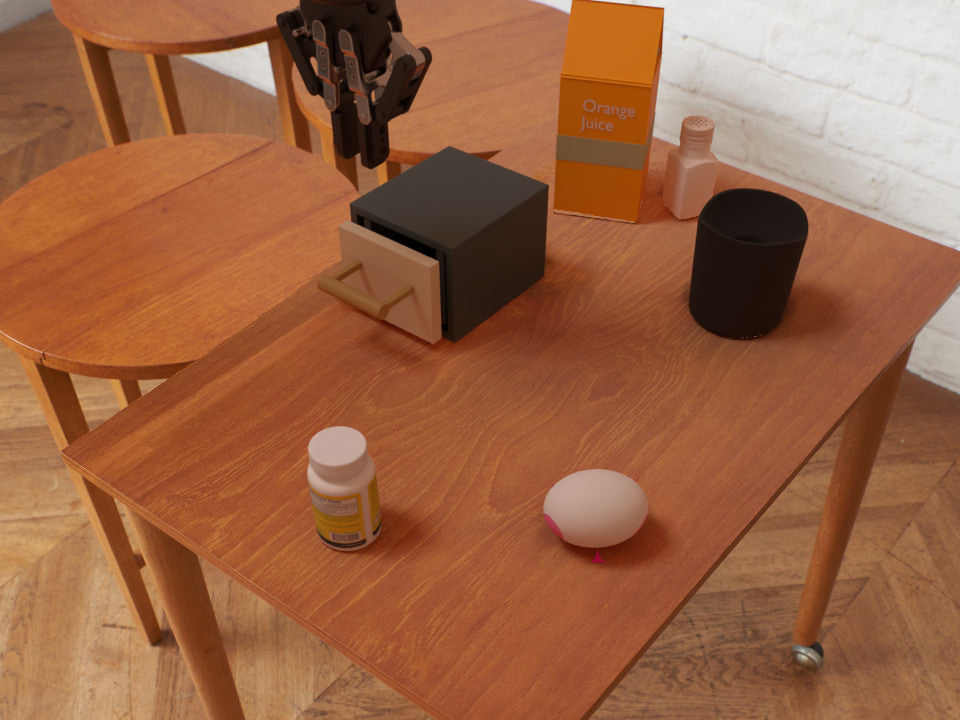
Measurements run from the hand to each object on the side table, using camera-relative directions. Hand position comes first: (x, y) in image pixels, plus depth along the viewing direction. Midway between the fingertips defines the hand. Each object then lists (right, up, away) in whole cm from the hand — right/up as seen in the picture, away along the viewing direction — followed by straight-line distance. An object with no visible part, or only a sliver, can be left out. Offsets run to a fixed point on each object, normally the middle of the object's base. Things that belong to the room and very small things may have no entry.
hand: (362, 158), depth 81 cm
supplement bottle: (0, -29, -4) cm, 29 cm away
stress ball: (+17, -29, -3) cm, 34 cm away
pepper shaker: (+30, +4, +29) cm, 42 cm away
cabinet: (+6, -6, +18) cm, 20 cm away
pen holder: (+32, -9, +16) cm, 37 cm away
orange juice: (+21, +5, +30) cm, 37 cm away
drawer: (+3, -8, +15) cm, 17 cm away
